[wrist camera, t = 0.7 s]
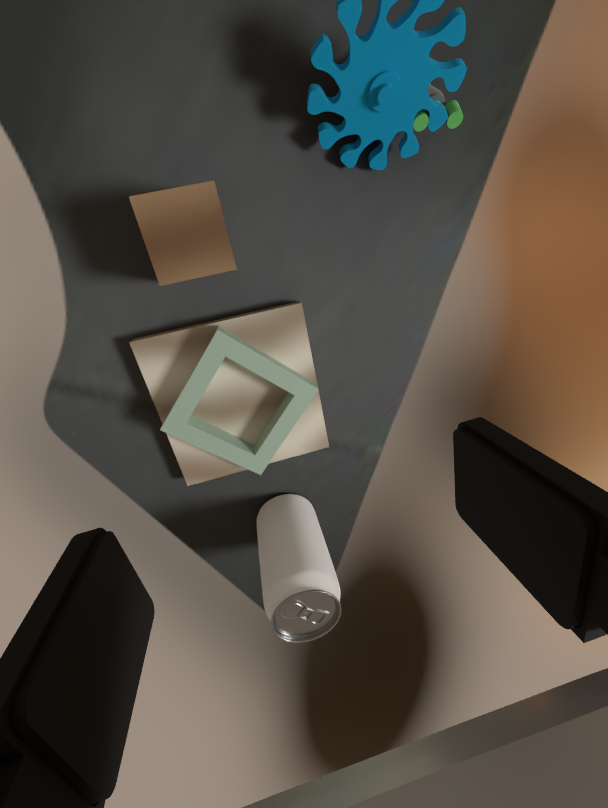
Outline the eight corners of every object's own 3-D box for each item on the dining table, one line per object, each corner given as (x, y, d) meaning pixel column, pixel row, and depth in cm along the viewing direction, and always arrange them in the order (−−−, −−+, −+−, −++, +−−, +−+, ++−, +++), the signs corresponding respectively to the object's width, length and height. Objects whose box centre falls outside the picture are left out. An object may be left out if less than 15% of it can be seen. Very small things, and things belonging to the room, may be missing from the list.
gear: (284, 144, 24) (361, -80, 15) (281, 97, 26) (347, -121, 18) (409, 199, 28) (523, 46, 20) (398, 154, 30) (495, 0, 22)
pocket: (164, 420, 29) (159, 430, 28) (218, 325, 27) (217, 329, 26) (259, 463, 33) (260, 475, 31) (313, 382, 31) (318, 389, 29)
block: (151, 212, 25) (128, 196, 20) (218, 199, 26) (214, 180, 20) (174, 282, 27) (159, 285, 22) (236, 269, 28) (236, 269, 22)
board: (134, 338, 28) (129, 342, 27) (298, 301, 29) (301, 302, 28) (189, 477, 34) (187, 485, 32) (325, 439, 35) (329, 446, 34)
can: (276, 482, 36) (295, 577, 25) (325, 504, 38) (362, 599, 27) (244, 528, 37) (249, 636, 26) (293, 546, 39) (317, 653, 28)
